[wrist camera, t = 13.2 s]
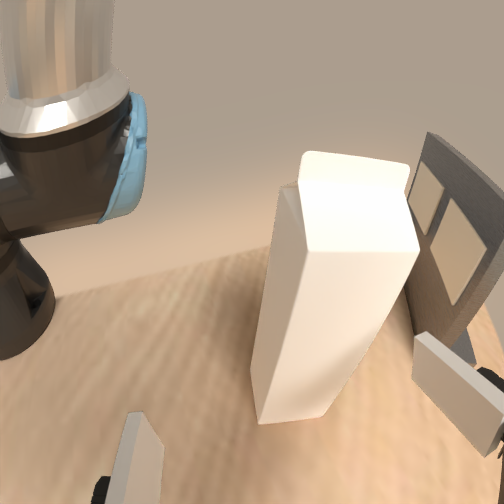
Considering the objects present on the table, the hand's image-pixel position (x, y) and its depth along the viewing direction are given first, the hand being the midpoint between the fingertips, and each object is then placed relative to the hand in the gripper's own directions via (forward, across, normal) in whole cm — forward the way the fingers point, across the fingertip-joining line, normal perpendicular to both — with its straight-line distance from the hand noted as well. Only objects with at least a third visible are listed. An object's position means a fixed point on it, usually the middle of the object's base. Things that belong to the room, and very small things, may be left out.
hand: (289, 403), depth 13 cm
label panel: (+23, +25, -11) cm, 35 cm away
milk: (+12, +1, -10) cm, 15 cm away
